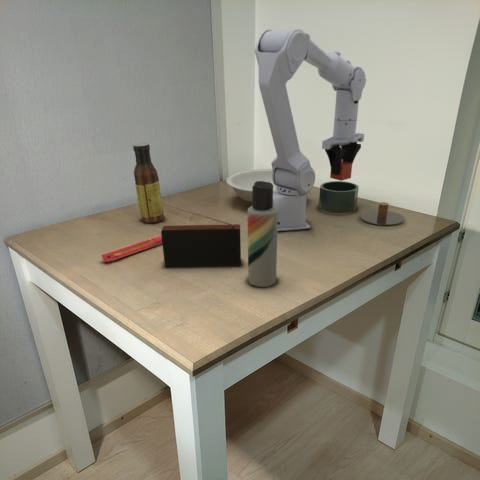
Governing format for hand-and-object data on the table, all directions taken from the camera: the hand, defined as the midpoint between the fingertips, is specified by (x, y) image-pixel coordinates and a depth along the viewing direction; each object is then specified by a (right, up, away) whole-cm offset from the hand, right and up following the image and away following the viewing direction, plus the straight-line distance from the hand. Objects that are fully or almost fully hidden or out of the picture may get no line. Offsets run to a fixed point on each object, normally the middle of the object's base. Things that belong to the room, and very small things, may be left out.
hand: (340, 172), depth 128 cm
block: (0, -1, +1) cm, 1 cm away
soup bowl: (-19, -5, +12) cm, 23 cm away
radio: (-37, -28, -24) cm, 52 cm away
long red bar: (-49, -23, -16) cm, 57 cm away
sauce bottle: (-51, -13, 0) cm, 53 cm away
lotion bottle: (-23, -32, -32) cm, 51 cm away
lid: (+10, -13, -4) cm, 17 cm away
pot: (0, -9, +5) cm, 10 cm away
